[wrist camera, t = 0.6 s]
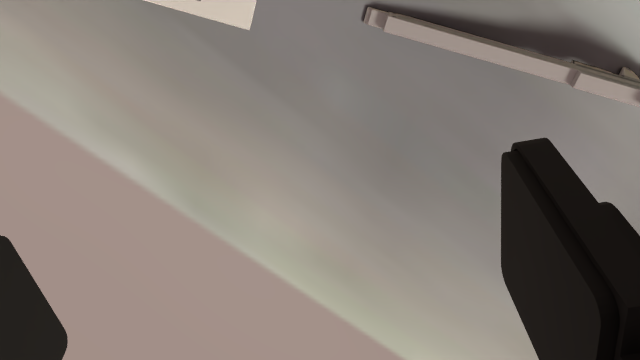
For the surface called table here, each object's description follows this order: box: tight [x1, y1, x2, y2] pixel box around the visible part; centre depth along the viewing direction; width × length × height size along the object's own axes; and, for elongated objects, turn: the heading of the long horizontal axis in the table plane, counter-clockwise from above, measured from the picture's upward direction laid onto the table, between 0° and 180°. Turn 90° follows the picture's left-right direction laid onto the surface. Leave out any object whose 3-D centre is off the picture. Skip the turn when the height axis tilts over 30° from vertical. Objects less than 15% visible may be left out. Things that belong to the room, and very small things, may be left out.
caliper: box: [364, 7, 640, 107], centre depth 35 cm, size 20×1×6 cm, turn 77°
